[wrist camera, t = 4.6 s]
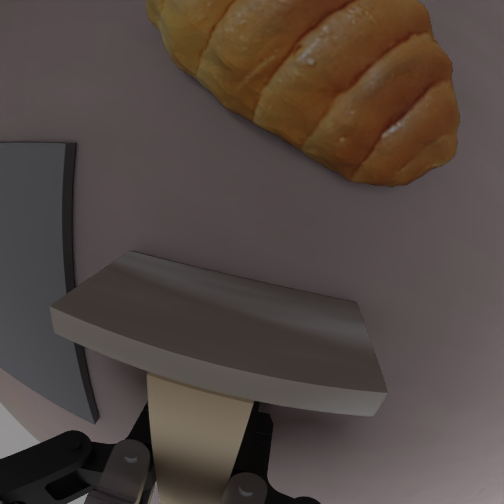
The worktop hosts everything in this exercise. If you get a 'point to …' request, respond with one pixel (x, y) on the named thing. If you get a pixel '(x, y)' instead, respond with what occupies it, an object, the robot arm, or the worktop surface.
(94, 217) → the worktop surface
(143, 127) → the worktop surface
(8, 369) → the mat
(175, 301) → the scraper
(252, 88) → the pastry
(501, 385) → the worktop surface
